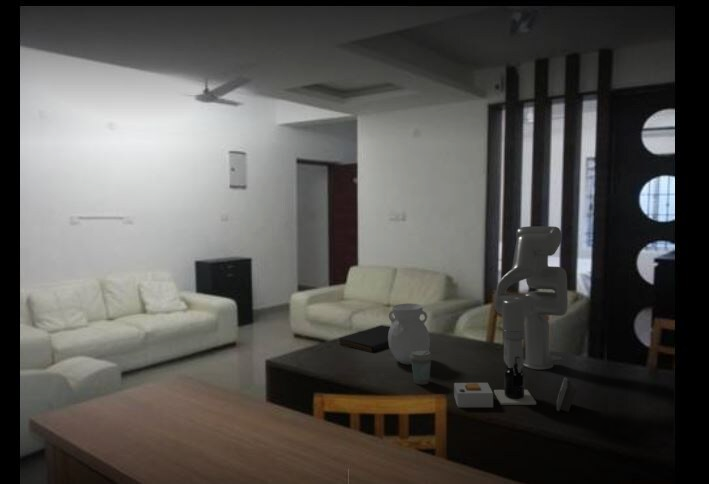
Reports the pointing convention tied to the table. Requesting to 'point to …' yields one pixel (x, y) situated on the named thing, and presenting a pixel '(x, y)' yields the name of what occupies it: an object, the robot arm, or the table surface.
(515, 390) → the supplement bottle
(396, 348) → the grey vase
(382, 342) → the file folder
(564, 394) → the electrical switch
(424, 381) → the coffee cup
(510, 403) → the pad
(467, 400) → the box
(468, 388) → the button
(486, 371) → the table surface
